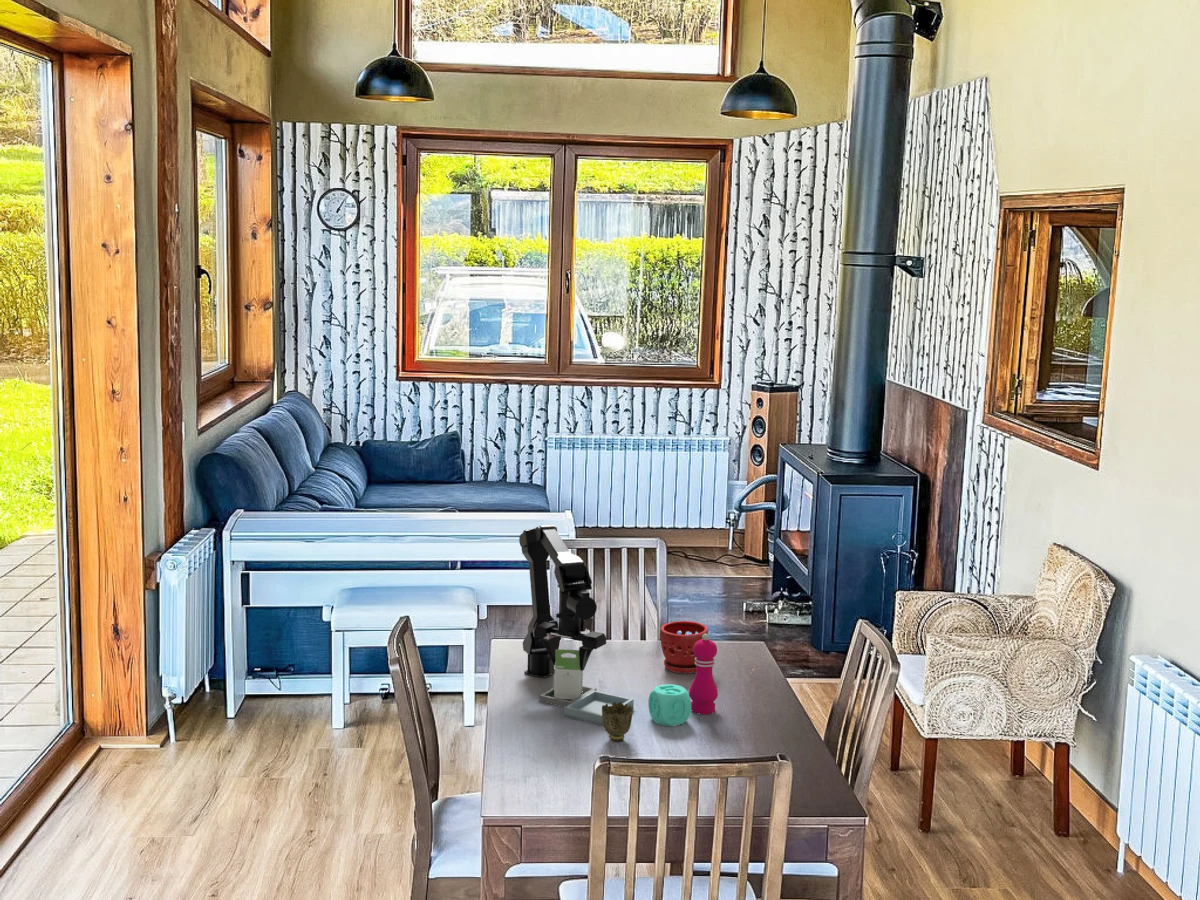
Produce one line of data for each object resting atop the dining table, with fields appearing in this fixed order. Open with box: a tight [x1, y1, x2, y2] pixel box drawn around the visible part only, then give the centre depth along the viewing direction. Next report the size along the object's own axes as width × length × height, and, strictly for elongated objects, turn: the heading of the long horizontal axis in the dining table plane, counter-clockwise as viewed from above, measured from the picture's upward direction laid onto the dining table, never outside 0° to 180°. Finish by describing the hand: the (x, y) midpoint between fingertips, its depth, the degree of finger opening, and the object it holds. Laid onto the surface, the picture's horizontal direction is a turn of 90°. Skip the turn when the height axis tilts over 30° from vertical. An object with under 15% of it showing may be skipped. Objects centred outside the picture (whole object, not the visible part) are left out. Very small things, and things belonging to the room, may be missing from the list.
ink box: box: [553, 649, 584, 701], centre depth 327 cm, size 7×4×13 cm, turn 84°
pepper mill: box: [688, 633, 719, 715], centre depth 321 cm, size 7×7×20 cm
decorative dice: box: [648, 683, 692, 727], centre depth 314 cm, size 8×8×8 cm
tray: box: [563, 690, 635, 727], centre depth 318 cm, size 12×15×2 cm
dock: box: [539, 684, 598, 707], centre depth 328 cm, size 10×13×2 cm
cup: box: [602, 702, 634, 743], centre depth 301 cm, size 8×7×8 cm
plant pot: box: [659, 620, 709, 675], centre depth 352 cm, size 13×13×12 cm
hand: (568, 667), depth 327 cm, fingers closed on ink box, 8 cm apart
